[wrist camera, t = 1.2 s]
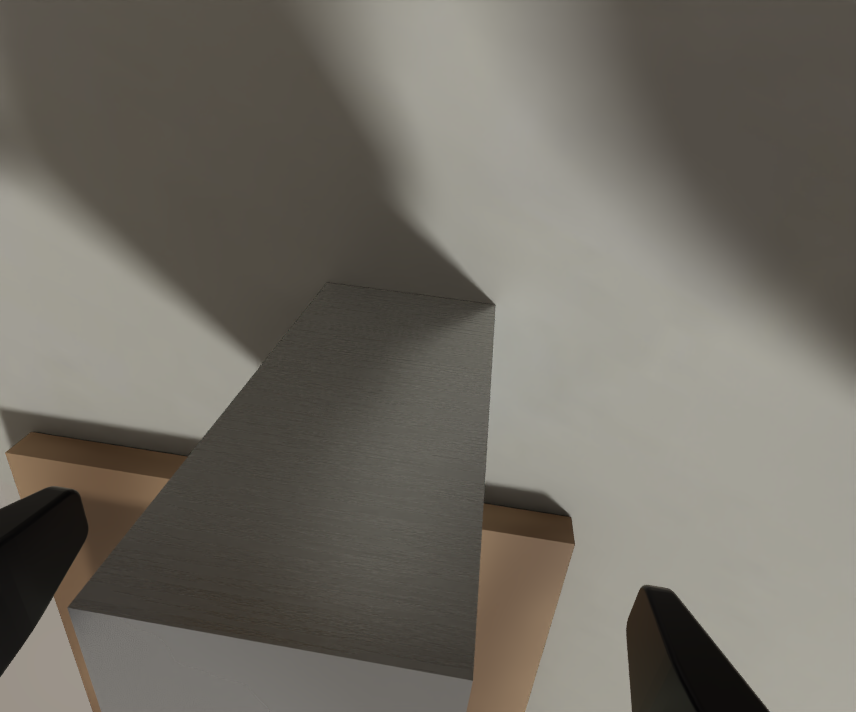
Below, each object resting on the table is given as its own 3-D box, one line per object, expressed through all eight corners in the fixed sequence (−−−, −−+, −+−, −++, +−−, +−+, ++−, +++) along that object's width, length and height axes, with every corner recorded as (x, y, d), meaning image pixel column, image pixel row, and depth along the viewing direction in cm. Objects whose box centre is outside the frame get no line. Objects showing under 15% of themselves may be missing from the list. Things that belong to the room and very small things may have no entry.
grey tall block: (495, 304, 13) (473, 680, 5) (473, 442, 15) (432, 869, 7) (327, 282, 13) (66, 607, 6) (326, 420, 15) (132, 808, 7)
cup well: (571, 517, 16) (585, 628, 13) (497, 777, 22) (494, 891, 19) (31, 432, 17) (-75, 515, 14) (113, 704, 24) (54, 801, 21)
